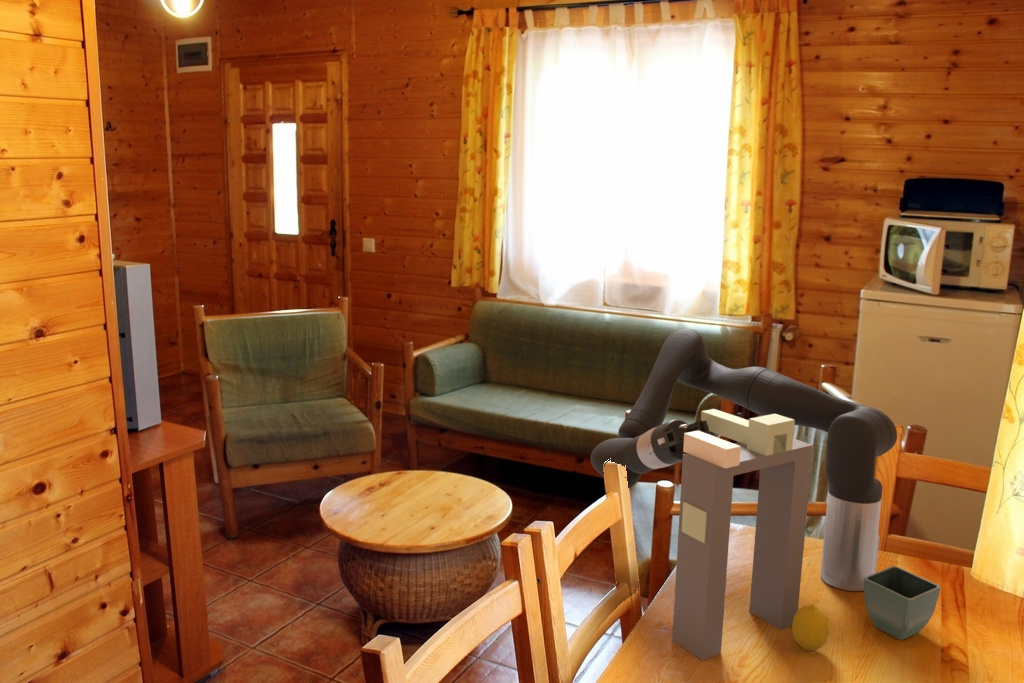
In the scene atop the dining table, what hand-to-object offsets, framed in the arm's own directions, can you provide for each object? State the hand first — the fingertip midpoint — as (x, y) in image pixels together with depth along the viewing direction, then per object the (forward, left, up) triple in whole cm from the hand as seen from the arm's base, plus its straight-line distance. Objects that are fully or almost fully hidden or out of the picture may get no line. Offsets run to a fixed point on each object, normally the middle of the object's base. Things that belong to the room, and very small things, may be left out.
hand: (724, 421), depth 143 cm
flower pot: (-21, +22, -34) cm, 46 cm away
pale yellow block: (0, +4, -2) cm, 4 cm away
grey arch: (+3, +8, -34) cm, 35 cm away
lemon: (-3, +18, -34) cm, 39 cm away
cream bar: (+11, +8, -2) cm, 14 cm away
